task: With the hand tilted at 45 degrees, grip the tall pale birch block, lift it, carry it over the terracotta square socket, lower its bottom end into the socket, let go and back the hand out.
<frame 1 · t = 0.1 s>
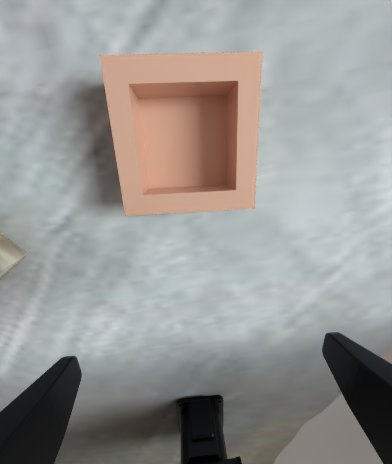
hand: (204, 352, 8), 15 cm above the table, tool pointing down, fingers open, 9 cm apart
socket: (185, 145, 19), on the table
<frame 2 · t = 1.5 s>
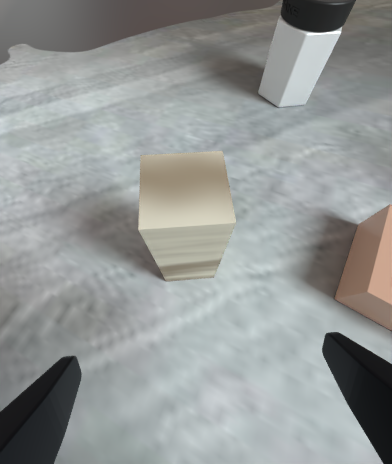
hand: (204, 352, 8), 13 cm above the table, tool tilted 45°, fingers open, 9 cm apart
birch block: (188, 256, 23), on the table
jar: (282, 93, 36), on the table
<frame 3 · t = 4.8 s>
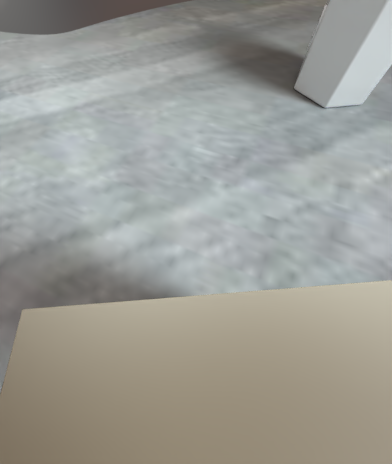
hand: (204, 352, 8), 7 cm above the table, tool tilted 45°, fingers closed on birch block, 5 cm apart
birch block: (201, 369, 13), on the table, touching gripper
jar: (327, 88, 26), on the table
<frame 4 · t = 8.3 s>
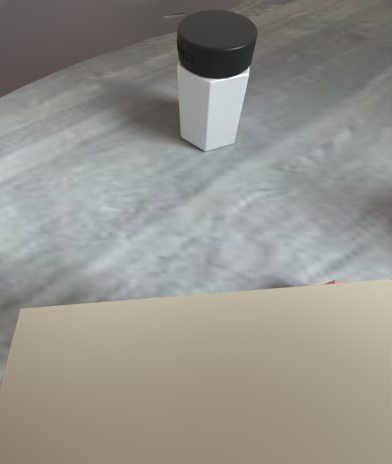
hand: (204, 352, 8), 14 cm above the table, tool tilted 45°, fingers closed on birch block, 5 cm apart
birch block: (200, 369, 13), point 7 cm above the table, touching gripper
jar: (208, 131, 32), on the table
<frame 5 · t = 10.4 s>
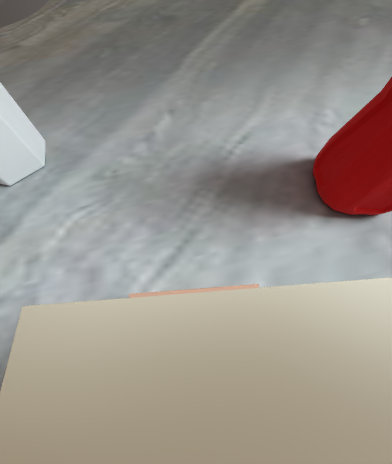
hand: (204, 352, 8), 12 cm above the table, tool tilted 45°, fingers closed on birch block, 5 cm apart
birch block: (201, 368, 13), point 6 cm above the table, touching gripper
water bottle: (348, 193, 26), on the table
socket: (198, 357, 18), on the table
jar: (15, 160, 28), on the table
when the fingers open (9 cm above the table, at t = 12.1 s): birch block drops 1 cm, resting on socket.
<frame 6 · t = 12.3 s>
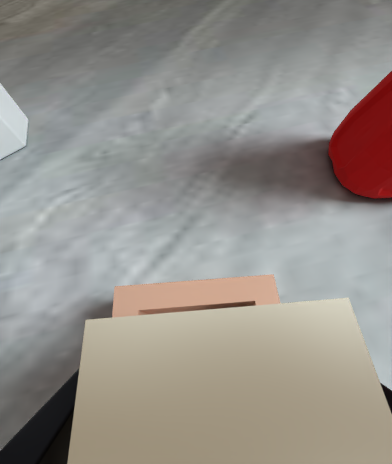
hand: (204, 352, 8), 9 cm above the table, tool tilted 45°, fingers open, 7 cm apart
birch block: (199, 365, 14), point 1 cm above the table, touching socket
water bottle: (369, 176, 23), on the table
socket: (200, 363, 15), on the table
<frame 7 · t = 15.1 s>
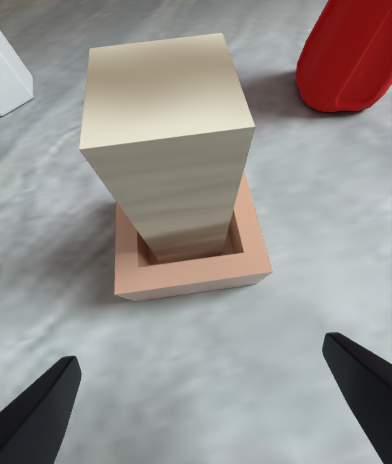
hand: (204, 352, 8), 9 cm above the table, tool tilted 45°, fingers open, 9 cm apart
birch block: (187, 232, 18), point 1 cm above the table, touching socket
water bottle: (332, 97, 26), on the table
socket: (189, 236, 19), on the table
jar: (5, 96, 29), on the table
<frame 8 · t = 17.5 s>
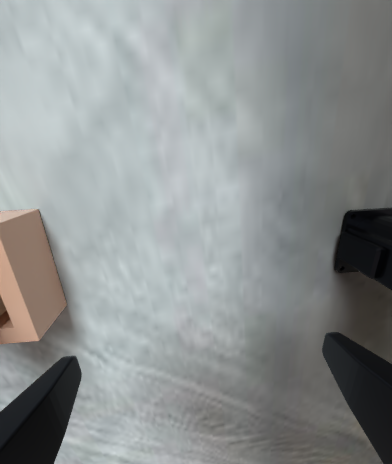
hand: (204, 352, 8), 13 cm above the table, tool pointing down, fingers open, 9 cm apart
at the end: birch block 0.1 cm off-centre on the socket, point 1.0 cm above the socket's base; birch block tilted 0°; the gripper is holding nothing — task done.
